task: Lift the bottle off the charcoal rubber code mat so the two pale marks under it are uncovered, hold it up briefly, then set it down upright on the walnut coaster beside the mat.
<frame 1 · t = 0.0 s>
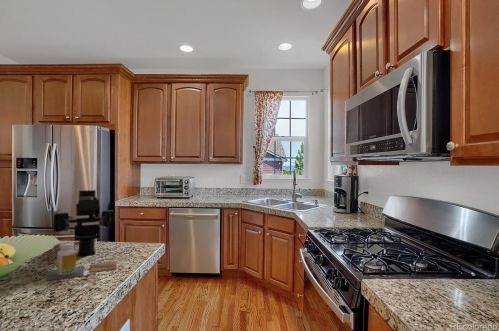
hand: (84, 224, 91), 17 cm above the countertop, tool horizontal, fingers open, 9 cm apart
walnut coaster: (103, 267, 98), on the countertop
supplement bottle: (66, 273, 91), resting on code mat
code mat: (66, 273, 91), on the countertop
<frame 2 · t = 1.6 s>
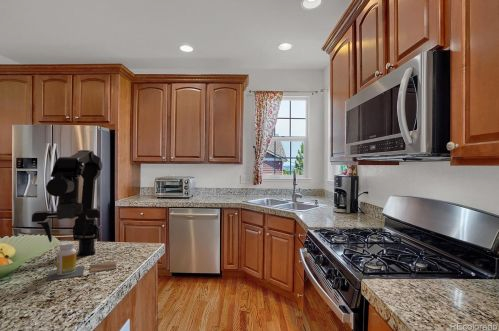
hand: (67, 240, 92), 11 cm above the countertop, tool pointing down, fingers open, 9 cm apart
nothing on the countertop moved.
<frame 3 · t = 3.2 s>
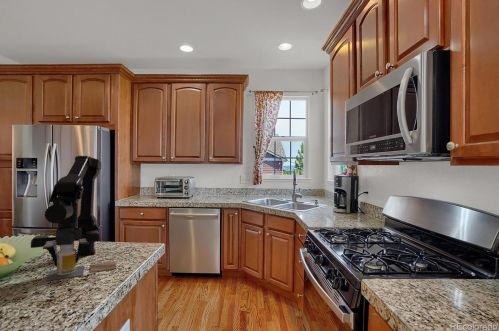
hand: (66, 264, 91), 3 cm above the countertop, tool pointing down, fingers closed on supplement bottle, 5 cm apart
supplement bottle: (66, 273, 91), resting on code mat, touching gripper
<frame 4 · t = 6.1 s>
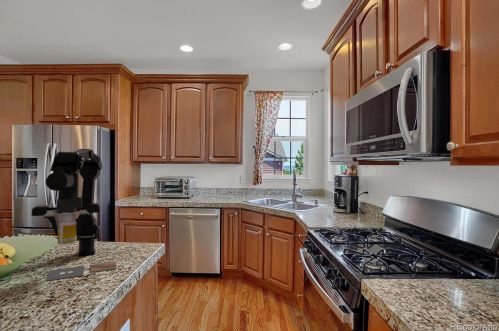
hand: (67, 234, 92), 13 cm above the countertop, tool pointing down, fingers closed on supplement bottle, 5 cm apart
supplement bottle: (67, 243, 92), point 10 cm above the countertop, touching gripper
when the fingers open (4 cm above the countertop, at t = 9.2 s): supplement bottle drops 1 cm, resting on walnut coaster.
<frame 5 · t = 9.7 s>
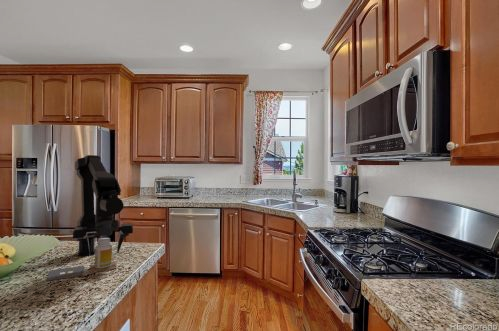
hand: (103, 254, 98), 4 cm above the countertop, tool pointing down, fingers open, 9 cm apart
supplement bottle: (103, 266, 98), resting on walnut coaster
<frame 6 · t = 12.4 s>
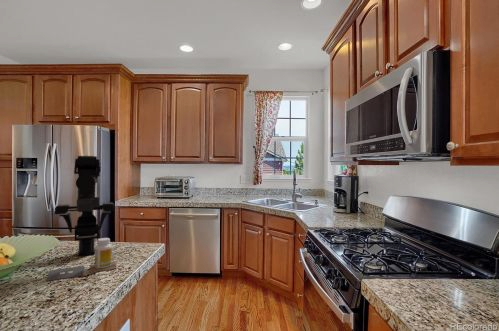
hand: (85, 231, 101), 12 cm above the countertop, tool pointing down, fingers open, 9 cm apart
nothing on the countertop moved.
at the end: supplement bottle 0.1 cm off-centre on the walnut coaster, point 0.1 cm above the walnut coaster's base; supplement bottle tilted 0°; the gripper is holding nothing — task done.
